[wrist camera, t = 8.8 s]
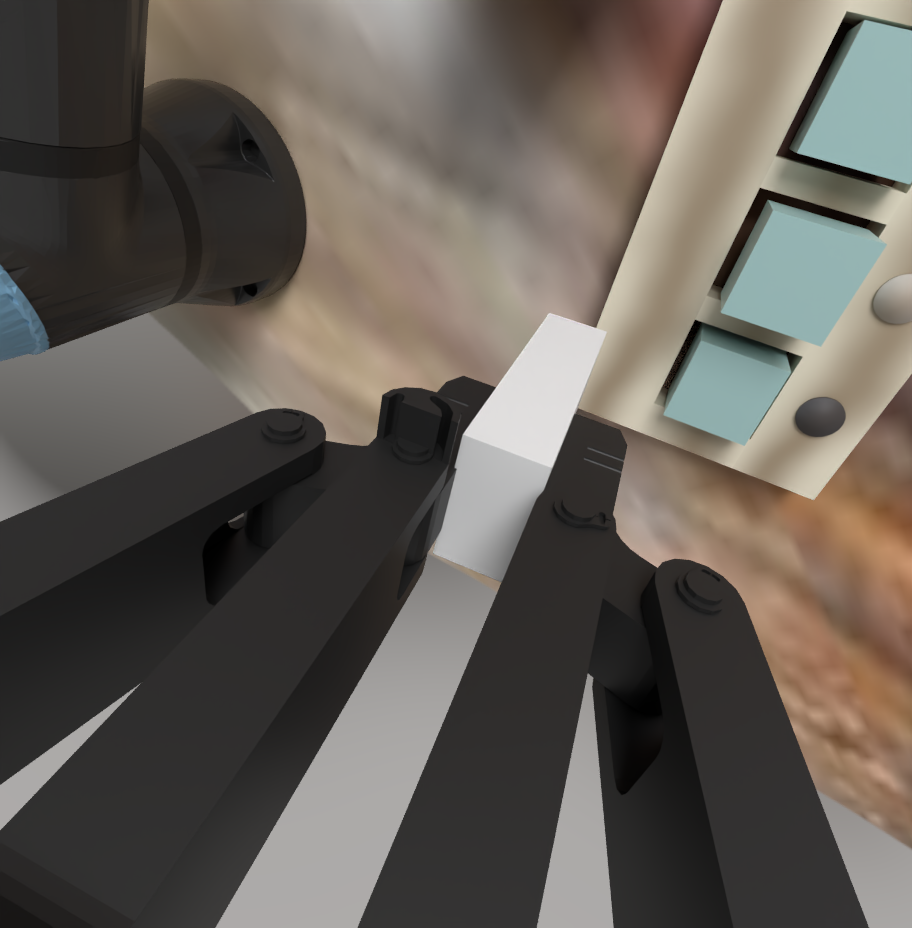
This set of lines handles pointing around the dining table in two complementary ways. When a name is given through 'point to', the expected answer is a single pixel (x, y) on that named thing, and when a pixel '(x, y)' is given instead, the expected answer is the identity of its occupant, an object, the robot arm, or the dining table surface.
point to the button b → (799, 272)
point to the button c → (864, 105)
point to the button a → (726, 383)
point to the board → (713, 231)
